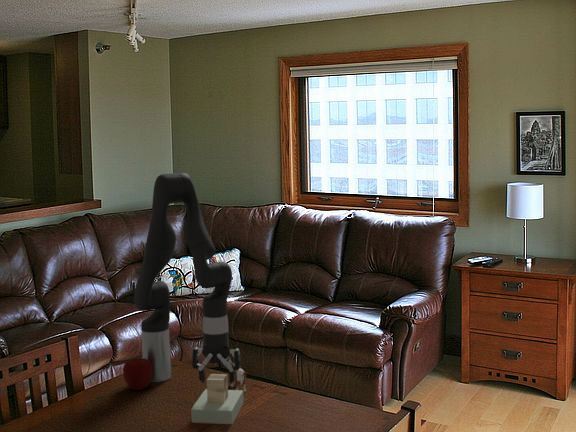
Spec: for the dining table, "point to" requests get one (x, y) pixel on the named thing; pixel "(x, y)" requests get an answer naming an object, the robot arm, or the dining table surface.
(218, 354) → the robot arm
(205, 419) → the plinth
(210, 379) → the maple block
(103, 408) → the dining table surface
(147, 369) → the apple
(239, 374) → the bull figurine
